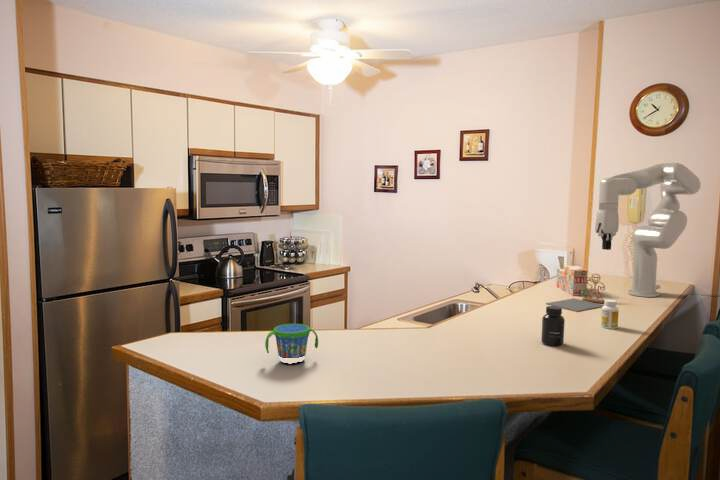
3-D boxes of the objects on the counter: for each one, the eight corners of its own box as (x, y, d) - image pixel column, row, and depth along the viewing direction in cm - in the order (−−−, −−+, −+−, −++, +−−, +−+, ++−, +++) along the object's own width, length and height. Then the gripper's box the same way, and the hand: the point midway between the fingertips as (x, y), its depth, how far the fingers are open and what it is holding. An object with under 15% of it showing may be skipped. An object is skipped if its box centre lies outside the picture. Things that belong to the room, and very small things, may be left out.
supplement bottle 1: (553, 348, 169) (554, 310, 168) (536, 342, 176) (537, 306, 174) (568, 344, 173) (569, 308, 171) (551, 339, 179) (553, 304, 177)
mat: (573, 299, 238) (574, 298, 238) (605, 306, 224) (606, 305, 224) (545, 304, 229) (545, 303, 229) (577, 311, 215) (577, 310, 215)
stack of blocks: (556, 287, 266) (557, 262, 264) (568, 287, 266) (569, 262, 264) (573, 296, 245) (574, 269, 243) (586, 296, 245) (587, 269, 243)
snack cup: (315, 353, 166) (315, 321, 165) (321, 365, 156) (320, 330, 154) (264, 357, 162) (263, 325, 161) (266, 369, 152) (265, 334, 151)
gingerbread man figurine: (606, 302, 231) (608, 274, 231) (603, 303, 228) (605, 275, 228) (584, 299, 237) (587, 272, 237) (582, 300, 234) (584, 272, 234)
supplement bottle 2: (617, 326, 194) (618, 299, 193) (617, 329, 189) (619, 302, 188) (601, 324, 196) (602, 298, 195) (601, 328, 191) (602, 301, 190)
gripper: (611, 206, 238) (609, 247, 240) (589, 207, 231) (587, 249, 233) (627, 207, 232) (625, 249, 234) (605, 208, 224) (603, 251, 226)
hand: (606, 249), depth 233 cm, fingers closed
